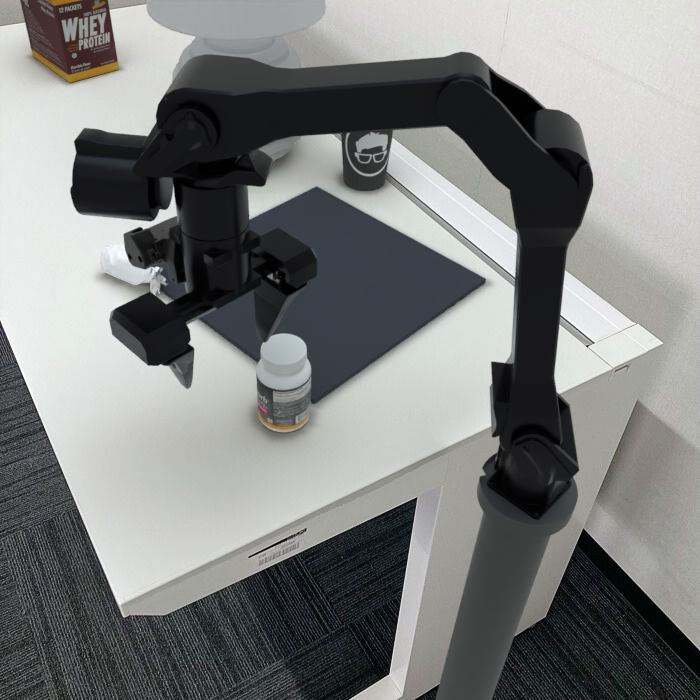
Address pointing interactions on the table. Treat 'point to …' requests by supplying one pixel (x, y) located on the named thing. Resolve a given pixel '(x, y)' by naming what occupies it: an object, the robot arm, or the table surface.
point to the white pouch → (129, 268)
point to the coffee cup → (365, 158)
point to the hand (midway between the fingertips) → (225, 362)
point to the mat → (346, 289)
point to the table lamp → (241, 34)
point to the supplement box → (71, 36)
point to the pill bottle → (284, 383)
